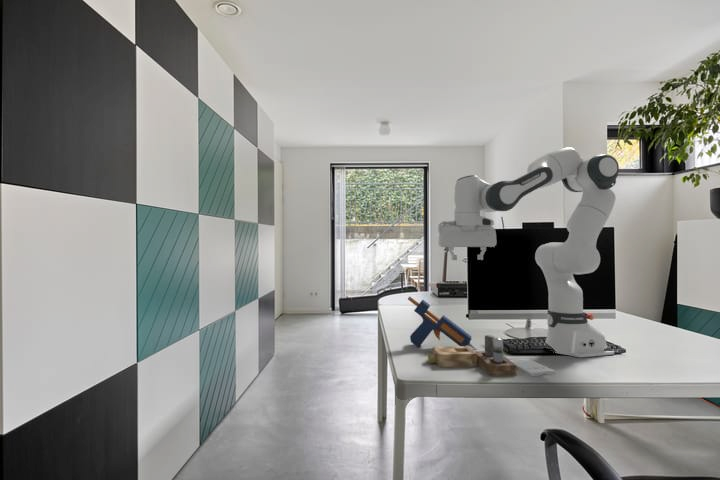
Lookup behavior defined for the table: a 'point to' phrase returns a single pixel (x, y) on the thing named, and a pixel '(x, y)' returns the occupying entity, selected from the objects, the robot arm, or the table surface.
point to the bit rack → (487, 361)
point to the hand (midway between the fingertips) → (467, 259)
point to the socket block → (455, 356)
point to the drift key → (432, 358)
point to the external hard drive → (532, 367)
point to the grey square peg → (497, 351)
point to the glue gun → (437, 327)
